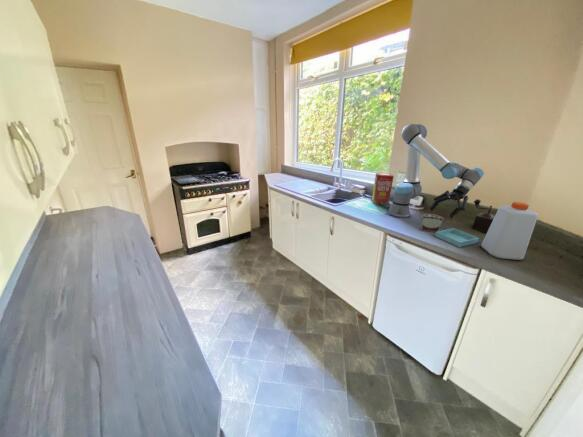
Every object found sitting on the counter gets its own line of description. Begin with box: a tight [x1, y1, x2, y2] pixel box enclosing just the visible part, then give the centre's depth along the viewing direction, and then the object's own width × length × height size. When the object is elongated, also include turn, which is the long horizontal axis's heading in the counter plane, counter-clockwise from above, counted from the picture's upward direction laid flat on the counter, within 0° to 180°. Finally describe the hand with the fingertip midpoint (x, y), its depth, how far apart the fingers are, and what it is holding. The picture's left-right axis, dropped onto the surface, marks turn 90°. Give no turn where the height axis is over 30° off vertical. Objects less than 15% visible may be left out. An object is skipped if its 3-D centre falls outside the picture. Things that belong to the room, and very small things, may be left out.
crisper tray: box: [434, 227, 480, 248], centre depth 140 cm, size 15×16×3 cm
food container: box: [421, 213, 444, 233], centre depth 152 cm, size 12×6×10 cm, turn 71°
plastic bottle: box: [481, 201, 539, 261], centre depth 121 cm, size 15×15×28 cm
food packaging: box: [371, 172, 394, 205], centre depth 203 cm, size 13×9×25 cm
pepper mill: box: [471, 198, 495, 233], centre depth 156 cm, size 16×11×18 cm
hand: (440, 213), depth 151 cm, fingers open, 13 cm apart
